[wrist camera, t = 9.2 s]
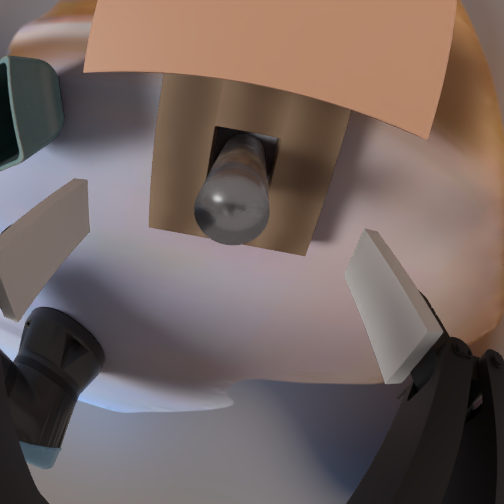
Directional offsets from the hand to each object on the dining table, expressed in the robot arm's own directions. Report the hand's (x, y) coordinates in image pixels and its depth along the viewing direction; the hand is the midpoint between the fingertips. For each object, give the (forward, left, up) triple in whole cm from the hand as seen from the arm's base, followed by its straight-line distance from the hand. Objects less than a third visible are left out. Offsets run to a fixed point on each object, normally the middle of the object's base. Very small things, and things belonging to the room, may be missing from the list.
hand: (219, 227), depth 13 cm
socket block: (0, 0, -13) cm, 13 cm away
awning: (0, +12, -13) cm, 18 cm away
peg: (0, 0, -13) cm, 13 cm away
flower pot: (-21, +3, -14) cm, 25 cm away
